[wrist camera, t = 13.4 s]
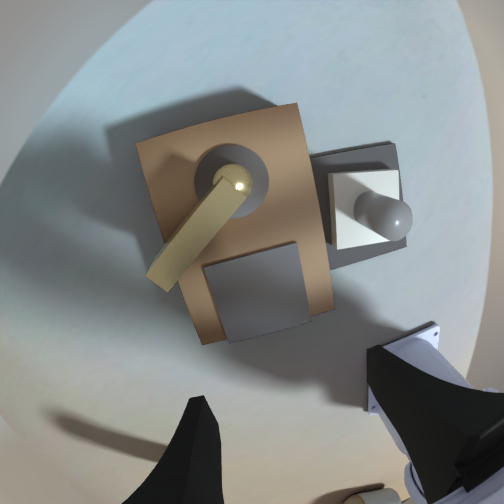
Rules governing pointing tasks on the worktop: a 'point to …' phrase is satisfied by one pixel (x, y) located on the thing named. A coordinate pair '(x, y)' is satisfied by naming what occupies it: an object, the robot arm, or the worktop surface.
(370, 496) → the ceramic mug
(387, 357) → the robot arm
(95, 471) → the worktop surface
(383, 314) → the worktop surface
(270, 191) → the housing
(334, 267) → the mat
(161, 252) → the lever handle
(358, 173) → the cover
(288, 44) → the worktop surface
